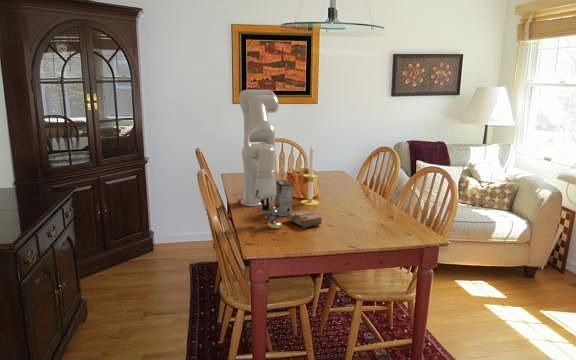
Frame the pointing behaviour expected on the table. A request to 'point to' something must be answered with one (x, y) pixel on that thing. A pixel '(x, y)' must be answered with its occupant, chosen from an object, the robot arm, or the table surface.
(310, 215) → the brown switch box
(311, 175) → the candle
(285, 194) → the coffee box
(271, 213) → the capstan
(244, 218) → the table surface
